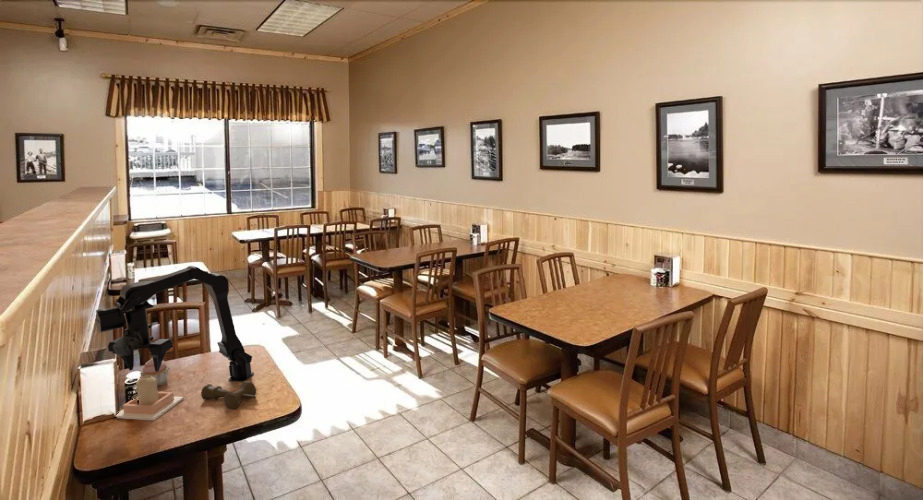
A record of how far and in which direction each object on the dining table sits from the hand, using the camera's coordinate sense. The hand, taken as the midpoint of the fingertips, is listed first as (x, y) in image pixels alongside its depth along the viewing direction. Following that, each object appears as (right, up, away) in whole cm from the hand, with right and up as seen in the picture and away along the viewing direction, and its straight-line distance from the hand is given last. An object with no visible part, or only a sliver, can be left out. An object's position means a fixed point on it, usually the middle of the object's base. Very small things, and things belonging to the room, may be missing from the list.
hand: (144, 370), depth 169 cm
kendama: (+25, -12, +6) cm, 28 cm away
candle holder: (0, -13, +3) cm, 13 cm away
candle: (0, -12, +2) cm, 12 cm away
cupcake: (-8, -9, +21) cm, 24 cm away
